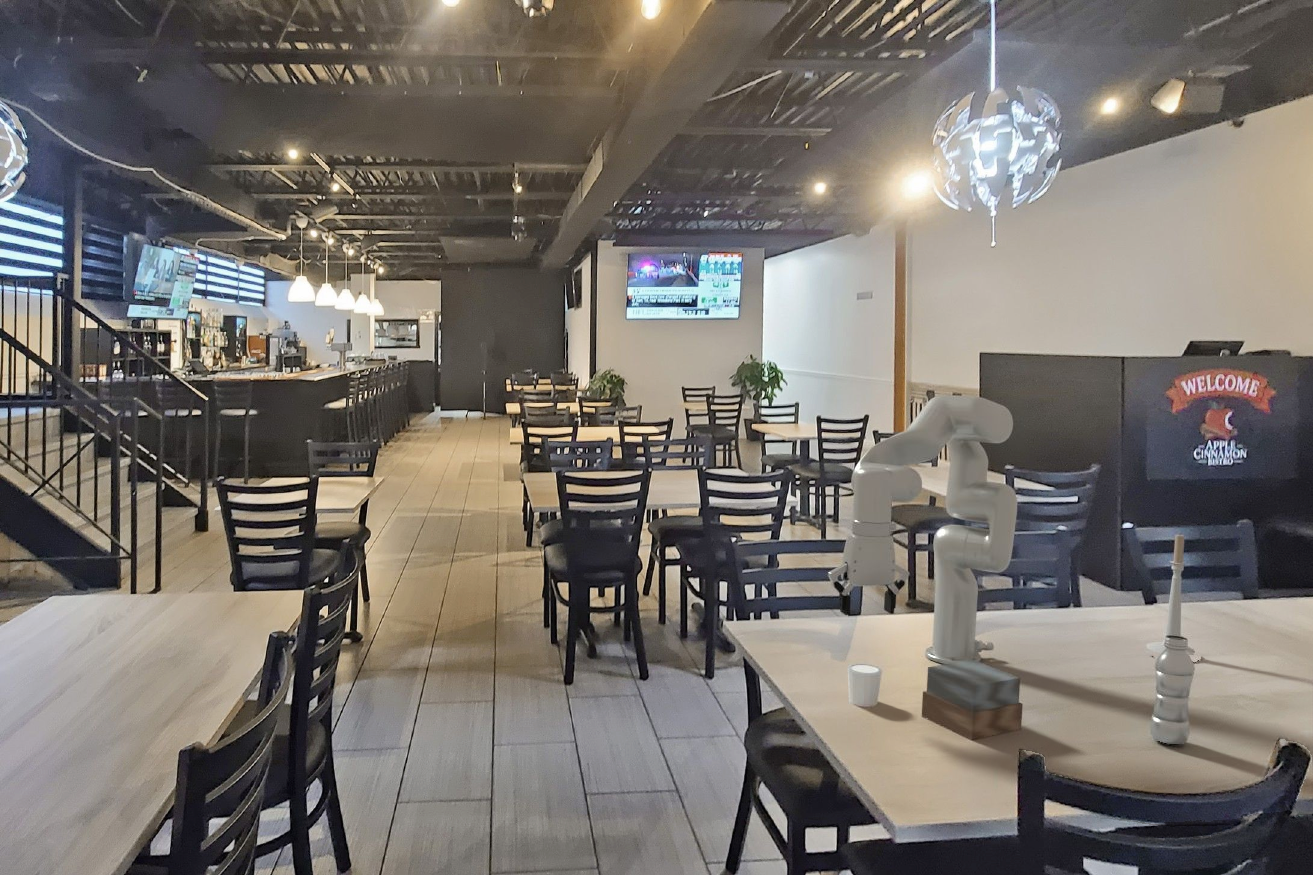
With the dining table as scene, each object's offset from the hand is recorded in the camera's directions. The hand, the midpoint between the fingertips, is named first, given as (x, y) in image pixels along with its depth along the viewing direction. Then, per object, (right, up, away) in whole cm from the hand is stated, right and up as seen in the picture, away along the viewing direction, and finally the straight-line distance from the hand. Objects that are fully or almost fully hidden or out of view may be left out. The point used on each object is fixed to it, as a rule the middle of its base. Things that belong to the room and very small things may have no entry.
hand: (866, 612), depth 197 cm
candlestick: (+83, -18, +40) cm, 94 cm away
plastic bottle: (+53, -22, -16) cm, 59 cm away
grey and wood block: (+18, -20, -8) cm, 28 cm away
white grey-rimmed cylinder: (0, -19, +2) cm, 19 cm away
